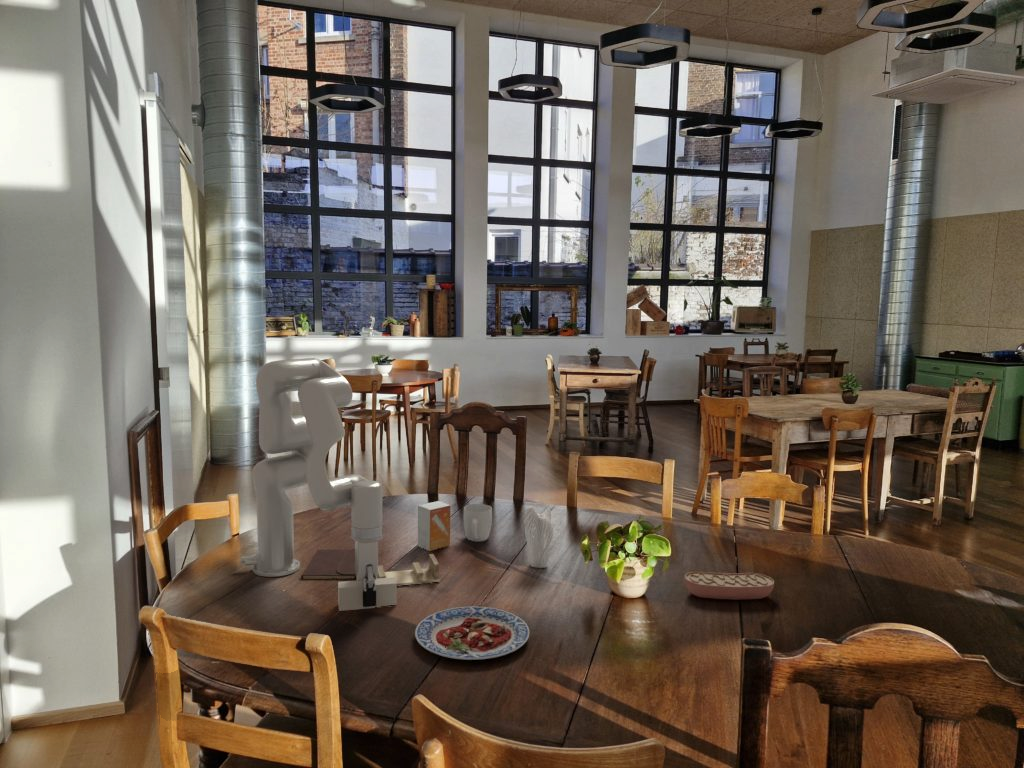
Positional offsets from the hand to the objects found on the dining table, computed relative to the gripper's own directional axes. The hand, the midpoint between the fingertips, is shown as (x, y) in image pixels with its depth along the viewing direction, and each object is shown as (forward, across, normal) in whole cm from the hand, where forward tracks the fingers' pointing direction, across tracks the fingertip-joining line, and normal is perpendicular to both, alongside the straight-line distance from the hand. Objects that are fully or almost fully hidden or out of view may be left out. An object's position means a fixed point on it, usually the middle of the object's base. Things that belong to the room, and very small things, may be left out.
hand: (367, 598), depth 185 cm
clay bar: (+2, 0, 0) cm, 2 cm away
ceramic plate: (+2, +24, +21) cm, 32 cm away
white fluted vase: (+2, -15, +50) cm, 52 cm away
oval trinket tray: (+2, +18, +91) cm, 93 cm away
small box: (+2, -38, +24) cm, 45 cm away
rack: (+2, -14, +10) cm, 17 cm away
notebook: (+2, -29, -6) cm, 30 cm away
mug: (+2, -40, +38) cm, 55 cm away
